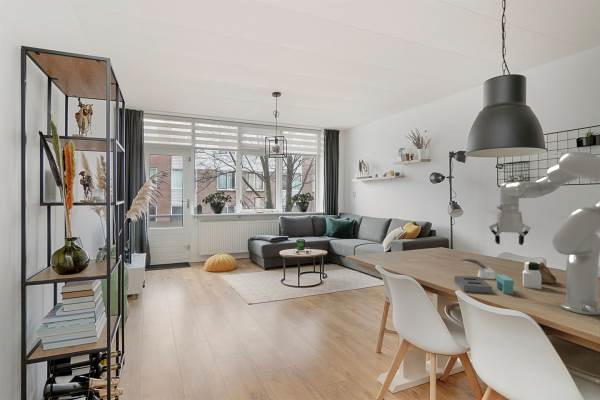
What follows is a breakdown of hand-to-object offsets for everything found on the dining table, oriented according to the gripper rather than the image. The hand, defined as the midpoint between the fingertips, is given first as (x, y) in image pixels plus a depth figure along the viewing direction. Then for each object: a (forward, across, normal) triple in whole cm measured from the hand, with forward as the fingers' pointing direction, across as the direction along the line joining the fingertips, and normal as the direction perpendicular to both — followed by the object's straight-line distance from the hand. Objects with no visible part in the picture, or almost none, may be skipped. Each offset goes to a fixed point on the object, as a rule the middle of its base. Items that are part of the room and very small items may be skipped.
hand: (509, 244), depth 160 cm
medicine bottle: (+22, +12, +9) cm, 27 cm away
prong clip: (+22, -3, -4) cm, 22 cm away
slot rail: (+22, -16, 0) cm, 27 cm away
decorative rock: (+22, +21, +20) cm, 37 cm away
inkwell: (+22, -8, +24) cm, 34 cm away
